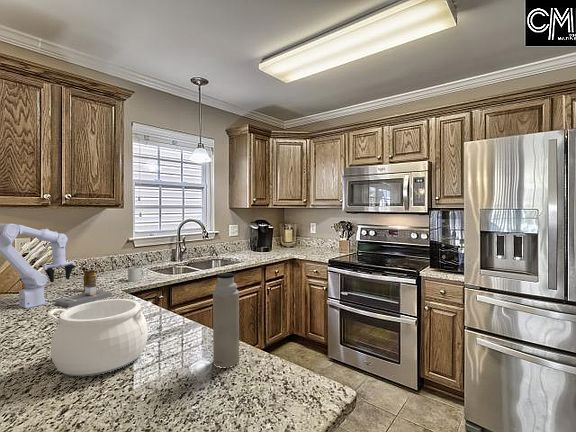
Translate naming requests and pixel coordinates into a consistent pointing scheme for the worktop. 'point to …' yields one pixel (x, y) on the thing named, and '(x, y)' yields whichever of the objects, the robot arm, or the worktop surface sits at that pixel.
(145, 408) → the worktop surface
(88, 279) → the condiment
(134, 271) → the cup
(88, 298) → the console board
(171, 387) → the worktop surface
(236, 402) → the worktop surface
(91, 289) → the fader tab
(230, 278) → the thermos bottle
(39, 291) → the robot arm
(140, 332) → the pot
